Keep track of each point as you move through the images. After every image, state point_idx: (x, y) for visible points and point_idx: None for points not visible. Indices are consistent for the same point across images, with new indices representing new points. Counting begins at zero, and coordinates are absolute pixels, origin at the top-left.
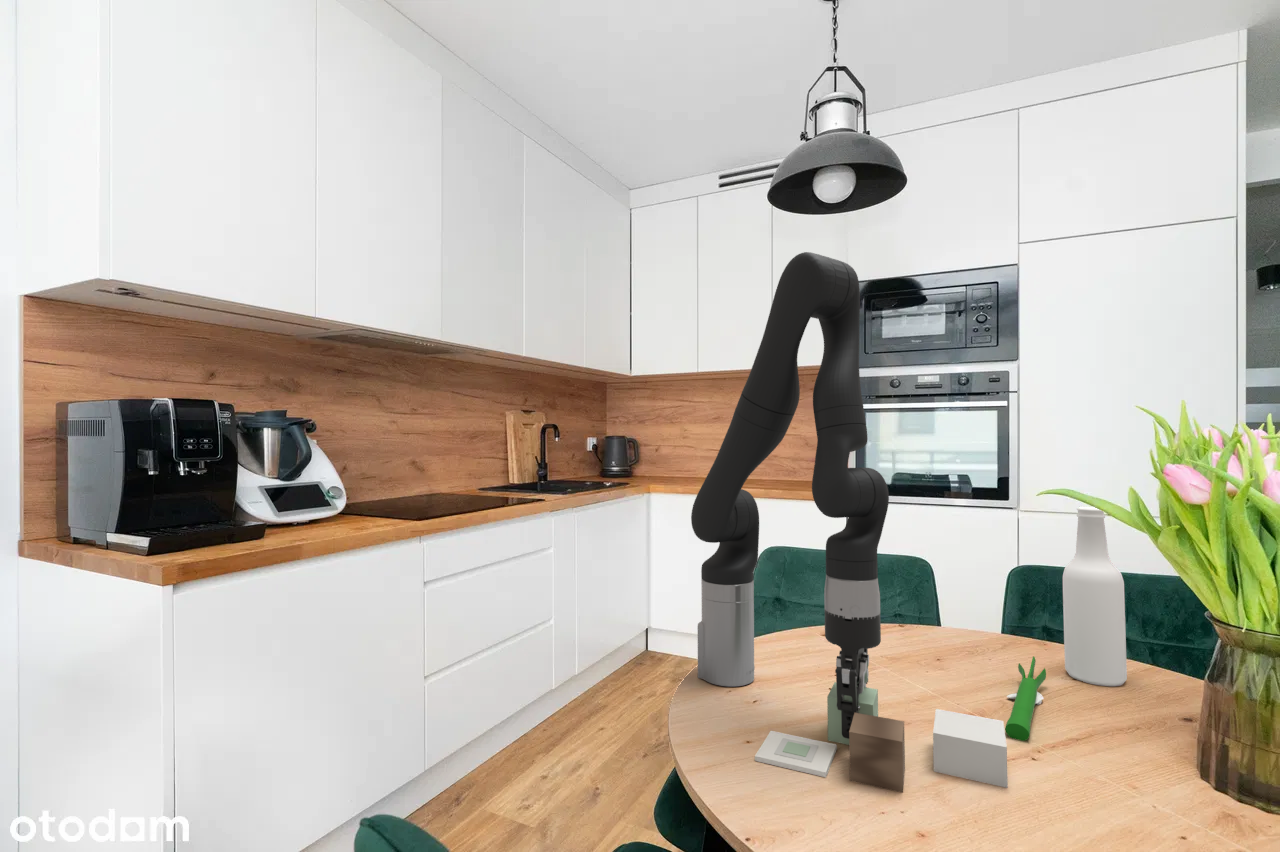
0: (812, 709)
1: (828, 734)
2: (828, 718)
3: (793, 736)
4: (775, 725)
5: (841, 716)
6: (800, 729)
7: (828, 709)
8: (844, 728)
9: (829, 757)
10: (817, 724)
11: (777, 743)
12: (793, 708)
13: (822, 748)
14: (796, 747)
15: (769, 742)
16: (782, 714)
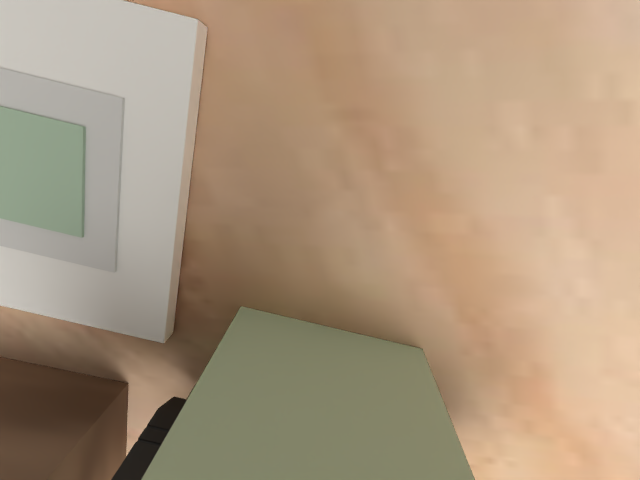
0: (577, 262)
1: (233, 322)
2: (201, 375)
3: (170, 157)
4: (339, 51)
5: (151, 461)
6: (321, 192)
7: (179, 418)
8: (148, 424)
9: (34, 306)
10: (394, 275)
11: (55, 67)
12: (590, 160)
13: (102, 286)
14: (37, 171)
15: (47, 17)
16: (499, 92)
